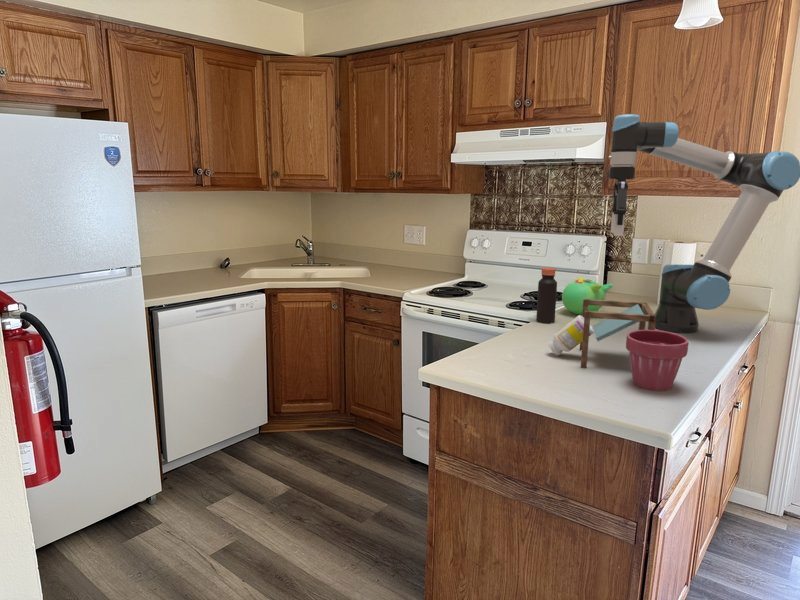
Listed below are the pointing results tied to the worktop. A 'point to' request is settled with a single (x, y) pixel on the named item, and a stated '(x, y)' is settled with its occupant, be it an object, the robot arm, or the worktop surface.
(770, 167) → the robot arm
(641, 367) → the plant pot
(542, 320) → the vinegar
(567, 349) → the supplement bottle
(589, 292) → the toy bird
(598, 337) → the trapdoor
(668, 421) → the worktop surface
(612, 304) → the frame
